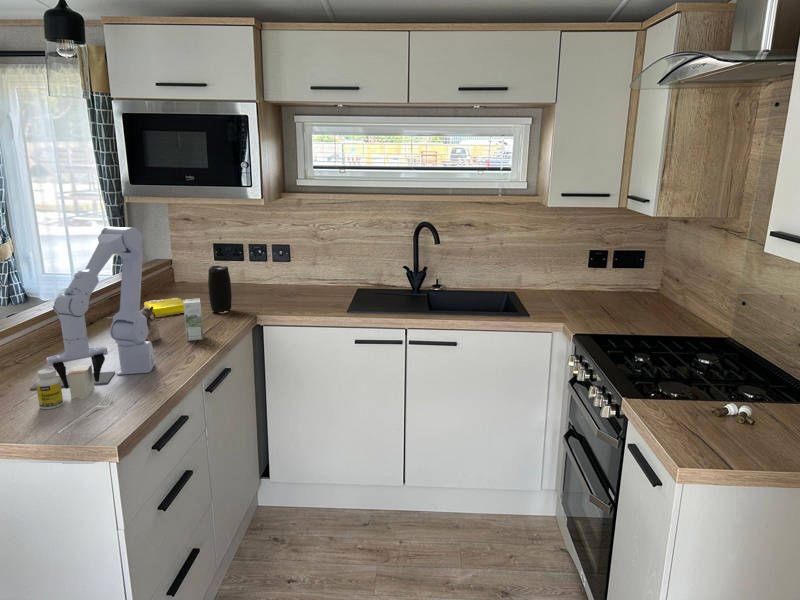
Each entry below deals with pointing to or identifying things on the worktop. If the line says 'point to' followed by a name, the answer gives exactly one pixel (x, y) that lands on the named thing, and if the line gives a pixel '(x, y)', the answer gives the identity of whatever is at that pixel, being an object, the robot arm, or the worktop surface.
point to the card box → (81, 381)
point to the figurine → (151, 324)
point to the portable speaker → (219, 288)
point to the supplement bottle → (49, 389)
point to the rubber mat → (103, 379)
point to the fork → (92, 410)
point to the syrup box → (193, 319)
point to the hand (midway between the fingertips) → (81, 384)
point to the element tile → (165, 306)
